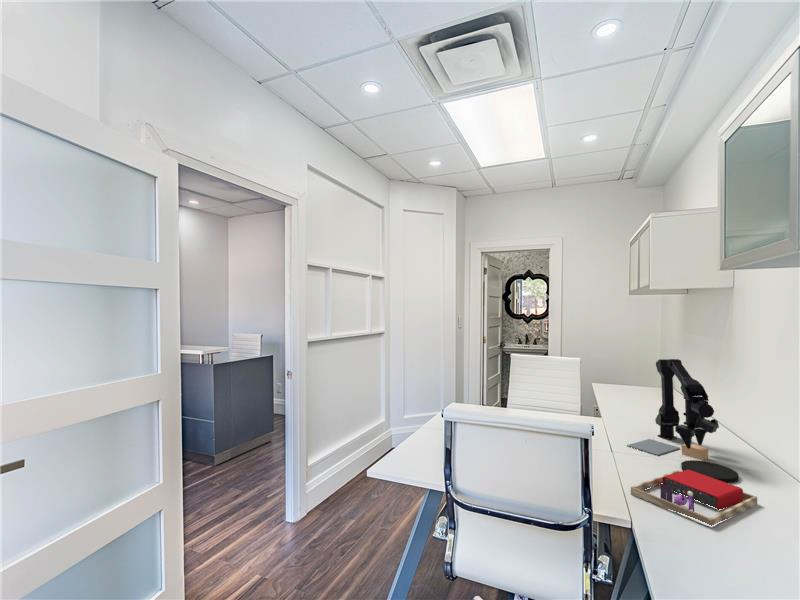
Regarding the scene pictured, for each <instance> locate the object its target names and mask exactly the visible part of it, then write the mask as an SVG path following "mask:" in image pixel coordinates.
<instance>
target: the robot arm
mask: <svg viewBox="0 0 800 600" xmlns="http://www.w3.org/2000/svg"><path fill="white" fill-rule="evenodd" d="M655 367H656V371H657V373H658V374H659V376H660V377H661V380H660V381H661V399H662V400H661V406H660V407H659V409H658V414H657V416H655V419H654V421H655V424H656V425H658V426H659V433H660V434H657V435H656V436H657V437H658V438H663V439H666V440H670V441H671V440H675V439H678V436H676V435H675V433H677V434H678V435H679V437H680V438H681V439H682V441H683V444H685V445H686V447H687V448H688V449H690V448H691V444H692V441H693V440H692V439H693V437H695V438H696V442H697V445H698V446H702V445H703V442H704V438H705V437H706V434H707V433H710V434H713V433H716V432H717V429H719V428H720V426H719V422H718V420H717V419H715V418H713V419H711V420H710V419H709V418H711V417H713V416H714V413H715V410H714V408H713V406H712V405H710V404H709V395H708V393H707V391H706V390H705V388H704V386H703V385H702V383H700V382H699V381H698V380H696V379H695V378H693V377H692V375H690V373H689V372H688V370H687V369H686V368H685V366H684V365H683V362H682V360H680V359H678V358H677V359H676V358H668V359H666V358H665V359H664V358H663V359H662V358H659V359H658V360H656V362H655ZM674 376H676V378H677V380H678V381H679V383H680V390H681V393H682V395H683V400H684V404H685V405H684V406H685V407H684V409H685V412H683V413H682V415H683V416H685V421H683V423H682V424H680V420H681V419H680V416H679V415H680V412H679V411H678V410H677V409H676V407H675V402H674V380H673V379H674Z"/></svg>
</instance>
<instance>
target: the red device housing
mask: <svg viewBox="0 0 800 600" xmlns="http://www.w3.org/2000/svg"><path fill="white" fill-rule="evenodd" d="M680 471H681V472H678V473H674V474H671V475H667V476H664V477H663V478H662V480H663V485H667V486H672V487H677V488H681V489H686V490H690V491H693V492H694V499H695V500H698V501H700V502H701V503H704V504H708V505H710V506H713V507H715V508H717V509H718V510H719V509H723V508H726V507H729V508H731V507H733V505H734V506H735V505H737V504H739V503H741V502H743V501H744V500H743V492H744V490H743V488H741V487H739V486H737V485H735V484H732V483H726V482H723V481H720V480H717V479H714V478H711V477H708V476H705V475H703V474H700V473H697V472H694V471H691V470H685V471H683V470H680ZM672 491H675V492H677V491H676V489H675V488H672ZM681 491H682V490H681ZM686 492H688V491H686ZM681 494H682V495H686V496H688V494H687V493H686V494H683V493H682V492H681ZM701 503H700V504H701ZM730 506H731V507H730ZM726 509H727V508H726ZM723 510H724V509H723Z"/></svg>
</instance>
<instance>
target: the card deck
mask: <svg viewBox="0 0 800 600" xmlns="http://www.w3.org/2000/svg"><path fill="white" fill-rule="evenodd" d="M681 455H683V456H685V457H689V456H690V458H692V457H693V459H696V458H697V459H696V460H699V459H700V460H699V461H705V460H707V458H708V459H709V448H708V447H705V446H702V445H699V444H694V443H691V448H690V449H688V448H687V447H686V445H685V443H683V444H681ZM704 459H705V460H704Z"/></svg>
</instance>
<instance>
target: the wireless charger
mask: <svg viewBox="0 0 800 600" xmlns="http://www.w3.org/2000/svg"><path fill="white" fill-rule="evenodd" d="M680 466H681V467H680V469H681V471H685V470H691V471H694V472H697V473H700V474H703V475H705V476H708V477H711V478H714V479H717V480H720V481H723V482H726V483H728V484H735V483H737V482H739V473H738V472H737V471H736V470H734V469H732V468H730V467H728V466H725V465H723V464H718V463H715V462H710V461H705V460H698V459H696V460H694V459H693V460H692V459H691V460H683V461H682V462H681V463H680Z"/></svg>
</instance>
